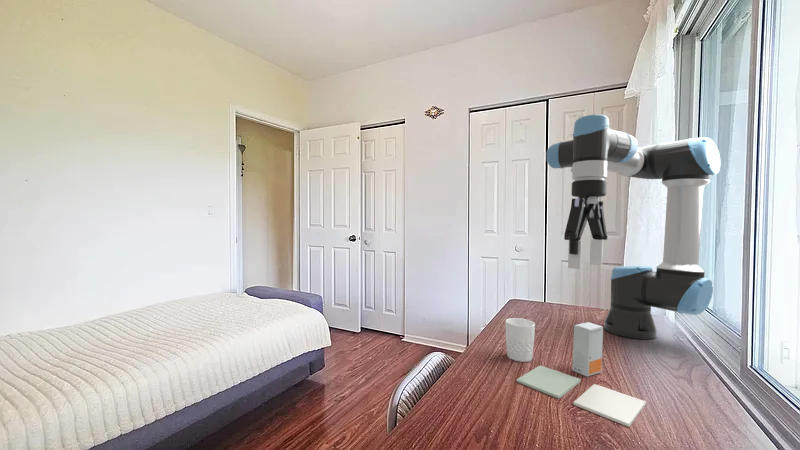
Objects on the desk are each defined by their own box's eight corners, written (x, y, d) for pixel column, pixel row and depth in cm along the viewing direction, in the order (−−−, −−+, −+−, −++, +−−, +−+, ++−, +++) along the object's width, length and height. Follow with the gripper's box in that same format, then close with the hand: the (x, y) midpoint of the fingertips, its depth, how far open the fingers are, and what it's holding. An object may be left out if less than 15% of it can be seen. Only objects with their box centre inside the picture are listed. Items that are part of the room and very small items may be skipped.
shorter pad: (540, 367, 89) (540, 365, 89) (580, 381, 81) (580, 379, 81) (516, 381, 81) (516, 379, 81) (559, 398, 73) (559, 396, 73)
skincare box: (587, 377, 83) (588, 329, 83) (571, 370, 87) (573, 324, 87) (602, 372, 86) (603, 326, 86) (586, 366, 90) (587, 321, 90)
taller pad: (594, 386, 79) (594, 383, 79) (645, 404, 72) (645, 401, 72) (573, 404, 71) (573, 401, 71) (629, 427, 64) (629, 423, 64)
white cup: (536, 364, 91) (537, 327, 90) (506, 361, 92) (507, 325, 92) (531, 353, 98) (532, 318, 98) (503, 350, 100) (504, 317, 100)
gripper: (591, 185, 94) (588, 261, 94) (550, 176, 78) (547, 268, 78) (622, 184, 88) (619, 264, 89) (585, 173, 72) (582, 272, 72)
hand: (585, 266), depth 83 cm, fingers open, 13 cm apart
